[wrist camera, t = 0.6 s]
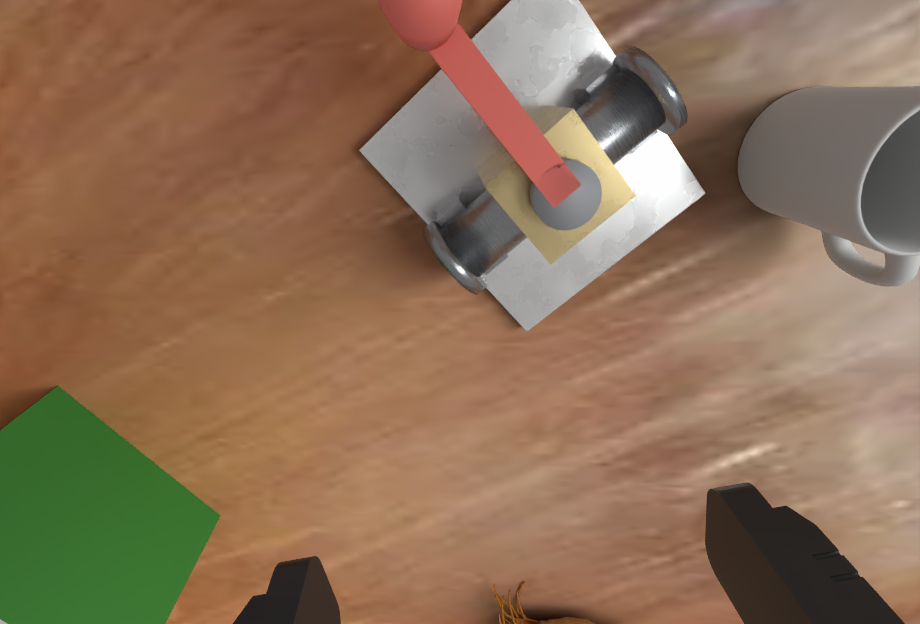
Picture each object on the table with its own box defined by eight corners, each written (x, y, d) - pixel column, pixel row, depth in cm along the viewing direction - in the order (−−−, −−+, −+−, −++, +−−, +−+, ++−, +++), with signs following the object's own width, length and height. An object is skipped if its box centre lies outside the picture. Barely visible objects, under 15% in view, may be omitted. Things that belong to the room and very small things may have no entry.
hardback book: (-1, 430, 42) (-490, 809, 20) (57, 385, 40) (-402, 741, 18) (164, 550, 48) (-66, 939, 26) (220, 515, 46) (25, 896, 24)
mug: (726, 116, 34) (849, 127, 24) (854, 65, 33) (1038, 54, 23) (750, 271, 38) (861, 334, 28) (863, 230, 38) (1018, 281, 27)
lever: (608, 195, 27) (657, 225, 21) (555, 238, 28) (588, 278, 22) (431, -43, 23) (429, -92, 16) (375, 17, 23) (353, -9, 17)
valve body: (548, -37, 30) (584, -78, 22) (698, 190, 36) (765, 216, 28) (361, 148, 34) (339, 164, 26) (524, 325, 40) (544, 379, 32)
